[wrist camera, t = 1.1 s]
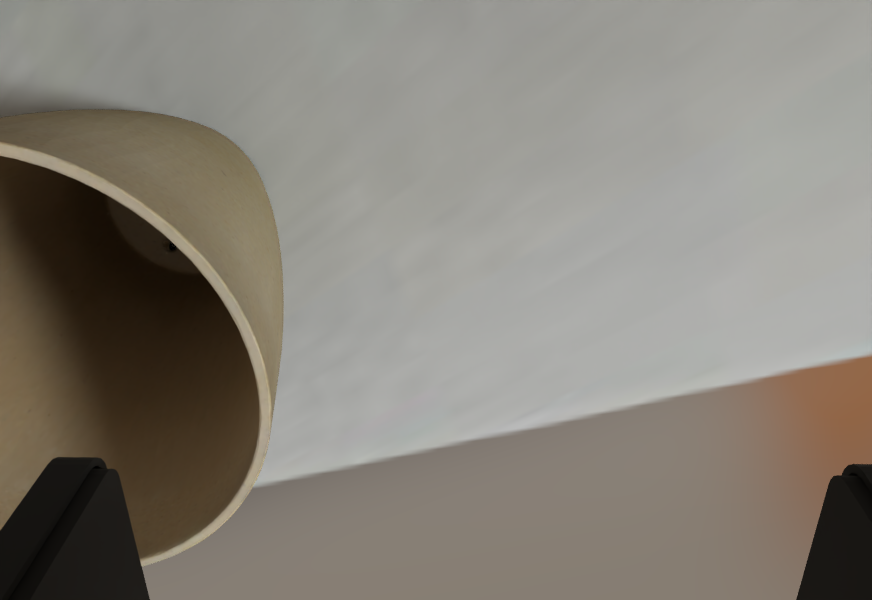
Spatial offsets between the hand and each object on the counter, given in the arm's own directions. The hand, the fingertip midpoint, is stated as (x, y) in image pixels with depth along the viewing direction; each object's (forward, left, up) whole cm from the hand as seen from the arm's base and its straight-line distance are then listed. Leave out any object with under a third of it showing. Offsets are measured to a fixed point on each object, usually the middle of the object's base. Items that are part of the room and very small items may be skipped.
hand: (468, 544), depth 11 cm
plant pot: (+6, -13, -27) cm, 30 cm away
